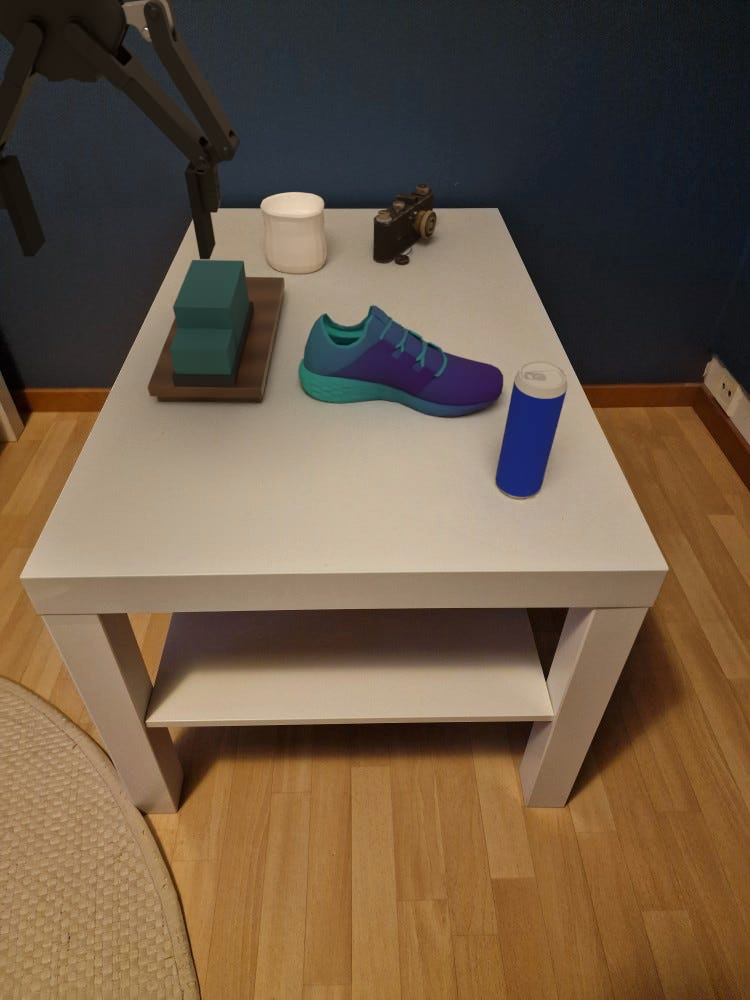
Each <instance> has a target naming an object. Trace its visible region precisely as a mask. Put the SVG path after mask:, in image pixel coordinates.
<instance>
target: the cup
mask: <svg viewBox="0 0 750 1000" xmlns="http://www.w3.org/2000/svg"><path fill="white" fill-rule="evenodd" d="M260 203H261V204H260V205H259V207H260V210H261V214H262V221H263V237H264V238H263V244H264V253H265V257H266V260H267V262H268V264H269V266H271V268H272V269H274V270H275V271H277V272H281V273H285V274H291V275H292V274H294V275H295V274H296V275H303V274H311V273H314V272H317V271H318V270H320V269H321V268H322V267H323V266H324V265H325V264H326V260H327V253H328V247H327V234H326V227H325V210H324V209H325V201H324V199H323V198H322V197H321V196H319V195H317V194H315V193H309V192H302V191H301V192H299V191H293V192H291V191H290V192H283V193H277V194H273V195H270V196H268V197H266V198H264V199H262V201H261V202H260Z"/></svg>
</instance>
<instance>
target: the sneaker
mask: <svg viewBox="0 0 750 1000" xmlns="http://www.w3.org/2000/svg"><path fill="white" fill-rule="evenodd" d="M402 325H403V324H400V323H399V322H397V321H395V320H394V319H393V317H390V316H389V315H388V314H387V313H386V312H385V311H384V310H382V308H380V307H379V306H377V305H374V304H371V305H369V308H368V313H367V316H365V317H364V318H363V319H362V320H361V321H360V322H359V323H357V324H354V325H348V326H347V325H342V324H339V323H337V322H335V321H333V319H332V318H331V317H330V315H328V313H322V314H321V315H320V316H319V317H318V318H317V319H316V320H315V321H314V323H313V325H312V327H311V329H310V331H309V333H308V337H307V340H306V342H305V346H304V351H303V358H302V359H301V360H300V362H299V366H298V369H297V371H298V380H299V382H300V383H301V385H302V387H303V389H304V391H305V392H306V393H307V394H308V395H310V396H311V397H312V398H314V399H317V400H319V401H325V402H329V403H337V404H347V403H359V402H368V401H379V400H383V401H389V402H394V403H399V404H402V405H403V406H405V407H408V408H410V409H413V410H414V411H418V412H419V413H422V414H425V415H427V416H435V417H436V416H437V417H446V418H453V417H459V416H463V415H468V414H470V413H474V412H477V411H479V410H482V409H484V408H486V407H488V406H490V405H492V404H493V403H496V402H497V401H498V400H499V398H500V397H501V395H502V394H503V389H504V374H503V373H502V371H501V369H499V367H497V366H496V365H495V366H494V365H493V364H491V363H487V362H482V361H477V360H473V359H469V358H465V357H462V356H458V355H455V354H453V353H449V352H445V351H443V350H442V348H441V347H440V346H438V345H437V344H435V343H433V342H432V341H429V342H428V341H426V340H424V339H423V336H422V335H420V334H419V333H417V332H415V331H413V330H412V329H408V328H405V327H404V326H402Z"/></svg>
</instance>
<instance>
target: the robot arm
mask: <svg viewBox="0 0 750 1000" xmlns="http://www.w3.org/2000/svg"><path fill="white" fill-rule="evenodd" d="M130 26H134V27H135V28H136V30H138V32H139V34H140V35H141V37H142V39H143V40H145V41H146V42H148V43H152V46H153V49H154V50H155V53H156V55H157V57H158V58H159V61H160V62H161V64H162V66H163V67H164V69H165V71H166V72H167V74H168V75H169V77H170V79H171V80H172V82H173V83H174V85H175V87H176V89H177V90H178V92H179V94H180V95H181V97H182V99H183V100H184V102H185V104H186V105H187V107H188V108H189V110H190V111H191V114H192V115H193V116H194V118H195V120H196V121H197V123H198V124H199V126H197V124H195V122H194V120H193V121H192V119H191V118H190V117H189V115H187V114H186V113H185V112H184V110H182V108H181V107H180V106H179V105H178V104H177V103H176V102H175V101H174V100H173V99H172V98H171V97H170V95H169V94H168V93H167V92H166V91H165V90H164V89H163V87H161V86H160V85H159V84H158V82H157V81H156V80H155V79H154V78H153V77H152V76H151V74H149V73H148V72H147V70H146V69H145V68H144V66H143V63H142V62H141V60H140V59H139V58H138V57H137V56H136V55H135V53H134V52H133V51H132V50H131V49H130V48H129V47H128V46H127V45H126V43H124V40H125V38H126V35H127V34H128V30H129V28H130ZM179 32H180V31H179V28H178V24H177V21H176V16H175V12H174V9H173V5H172V2H171V0H134V1H125V0H0V34H1V36H2V37H3V38H4V39H5V40H6V41H7V42H8V43H9V45H10V46H12V48H13V51H12V53H11V54H10V57H9V60H8V62H7V65H6V67H5V69H4V71H3V79H2V81H1V83H0V210H6V211H7V213H8V217H9V219H10V221H11V224H12V227H13V230H14V232H15V235H16V238H17V241H18V244H19V245H20V248H21V252H22V254H23V257H27V258H29V257H30V258H31V257H33V258H34V257H35V256H36V255H37V254H38V252H39V251H40V249H41V248H42V247H43V246H44V244H45V243H46V241H47V239H46V237H45V234H44V231H43V228H42V225H41V222H40V219H39V217H38V214H37V210H36V207H35V205H34V202H33V198H32V196H31V192H30V190H29V186H28V184H27V181H26V178H25V175H24V172H23V169H22V165H21V163H20V161H19V157H18V155H17V154H6V155H5V156H4V155H3V153H4V152H5V151H6V150H7V149H8V148H7V147H6V146H7V144H8V142H9V140H10V137H11V135H12V133H13V131H14V128H15V126H16V125H17V122H18V119H19V117H20V115H21V113H22V111H23V109H24V107H25V104H26V102H27V100H28V98H29V96H30V93H31V90H32V89H33V87H34V84H35V82H36V80H37V79H38V77H39V76H41V77H44V78H45V79H47V82H50V83H53V82H54V83H60V82H64V81H67V80H70V79H71V80H75V81H78V82H82V83H97V82H98V80H101V79H103V78H105V79H106V80H107V81H108V82H109V83H110V84H111V85H112V86H113V88H115V89H116V90H117V91H119V92H122V93H124V94H125V95H126V96H127V97H128V98H129V100H131V102H133V104H135V106H136V107H137V108H138V109H139V110H140V111H141V112H142V113H143V114H144V115H145V116H146V117H147V118H148V120H150V121H151V122H152V123H153V125H155V126H156V127H157V128H158V129H159V131H160V132H161V133H162V134H163V135H164V136H165V137H166V138H167V139H168V140H169V141H170V142H171V143H172V144H173V145H174V146H175V147H176V148H177V149H178V151H180V153H182V154H183V156H184V157H185V158H187V160H188V161H189V163H188V164H187V167H186V168H185V169H184V170H185V171H184V178H185V184H186V189H187V196H188V200H189V205H190V211H191V218H192V222H193V228H194V233H195V240H196V245H197V250H198V257H199V260H211V257H212V255H213V252H214V248H215V246H216V237H215V232H214V226H213V225H214V224H213V220H212V219H213V218H212V214H215V213H218V211H219V208H220V205H221V202H222V199H223V197H222V191H221V185H220V178H219V172H218V164H219V163H223V162H230V161H232V160H233V159H234V157H235V155H236V153H237V150H238V148H239V146H240V138H239V135H238V133H237V132H236V130H235V128H234V126H233V125H232V122H231V121H230V119H229V118H228V115H226V113H225V111H224V109H223V107H222V106H221V104H220V102H219V101H218V99H217V98H216V97H217V96H216V95H215V93H214V92H213V90H212V88H211V87H210V85H209V83H208V82H207V80H206V78H205V76H204V74H203V73H202V71H201V70H200V68H199V66H198V64H197V63H196V61H195V59H194V57H193V56H192V54H191V52H190V50H189V49H188V47H187V45H186V43H185V42H184V40H183V38H182V37H181V35H180V33H179ZM199 127H200V128H201V129H200V128H199Z"/></svg>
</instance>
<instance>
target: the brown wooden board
mask: <svg viewBox="0 0 750 1000" xmlns="http://www.w3.org/2000/svg"><path fill="white" fill-rule="evenodd" d="M246 283H247V291H248V298H249V301H253V306H254V313H253V317H252V321H251V325H250V329H249V333H248V337H247V341H246V345H245V349H244V353H243V357H242V361H241V365H240V369H239V373H238V377H237V381H236V385H235V387H195V386H174V383H173V379H172V374H173V372H174V366H173V362H172V358H171V354H170V347H171V344H172V341H173V339H174V336H175V334H176V331H177V323H176V319H175V318H174V319H173V322H172V324H171V327H170V329H169V331H168V335H167V337H166V339H165V342H164V344H163V347H162V348H161V349H162V350H161V351H160V355H159V357H158V359H157V362H156V364H155V367H154V368H153V372H152V375H151V377H150V379H149V382H148V384H147V390H148V393H149V397H157V401H158V402H187V403H189V402H190V403H192V402H193V403H194V402H196V403H197V402H198V403H257V404H258V403H259V404H260V403H261V402H262V399H263V398H264V397H263V396H264V392H265V387H266V382H267V377H268V372H269V367H270V361H271V356H272V352H273V346H274V342H275V337H276V332H277V326H278V321H279V317H280V312H281V307H282V303H283V302H282V301H283V297H284V291H285V286H286V285H285V284H286V283H285V277H282V276H281V277H280V276H279V277H277V276H275V277H273V276H246Z"/></svg>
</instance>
